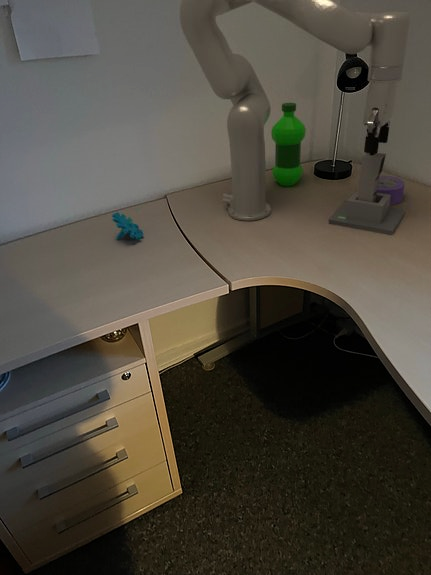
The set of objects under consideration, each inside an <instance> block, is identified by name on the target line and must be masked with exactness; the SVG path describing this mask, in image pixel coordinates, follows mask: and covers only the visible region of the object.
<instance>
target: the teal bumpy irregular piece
mask: <svg viewBox="0 0 431 575" xmlns="http://www.w3.org/2000/svg"><path fill="white" fill-rule="evenodd" d="M111 217H112V222H114V223H116V224H115V226H116V227H117V228H118V229H120V232H119V233H118V234H117V236H116V237H115V239H116V240H117V241H119V240H120V239H121V238H122V237H123V235H124V234H125V235H127V234H128V233H129V237H130V238H132V239H135V240H138V241H139V240H141V239H142V238H144V234H143V230H142V229H140V226H139V225H138V223H134V220H133V219H132V217H131V216H130V215H129V216H127V215H126V214H124V213H122V214H121V213H120V212H117V211H116V212H114V213H113V214H112V215H111Z"/></svg>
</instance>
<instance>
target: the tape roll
mask: <svg viewBox="0 0 431 575" xmlns="http://www.w3.org/2000/svg"><path fill="white" fill-rule="evenodd" d="M404 192H405V181H404V180H403V179H402V178H400V177H397V176H392V175H385V174H384V175H381V174H380V175H379V181H378V189H377V193H383V194H389V195H391V197H390V203H389V206H393V205H398V204H399V203H401V202H402V201H403V196H404Z"/></svg>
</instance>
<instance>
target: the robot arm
mask: <svg viewBox="0 0 431 575" xmlns="http://www.w3.org/2000/svg"><path fill="white" fill-rule="evenodd" d="M251 3H256V4H257V5H259V6H261V7H263V8H264V9H266V10H269V11H271V12H272V13H274V14H276V15H277V16H279V17H281V18H283V19H285V20H287V21H289V22H290V23H292V24H293V25H295V26H296V27H298V28H300V29H301V30H303V31H305V32H306V33H308V34H310V35H312V36H313V37H314V38H316V39H318V40H319V41H322V42H323V43H325V44H327V45H329V46H330V47H333V48H334V49H337V50H338V51H340V52H342V53H344V54H348V55H356V54H358V53H361V52H362V51H364V50H365V49H366V48H367V47H370V56H369V64H368V74H367V82H369V85H368V89H367V94H366V100H365V107H364V113H363V119H362V120H363V121H362V123H363V125H364V126H367V128H366V131H365V132H366V133H365V138H364V140H365V141H364V146H363V147H364V150H363V152H364V153H365V154H366V153H372V154H376V153H379V145H380V144H381V143H383V144H387V143H388V138H389V133H390V124H391V123H390V122H391V119H392V117H393V113H394V108H395V100H396V93H397V87H398V86H397V84H398V83H399V82H401V81H402V76H403V70H404V66H405V65H404V62H405V56H406V50H407V43H408V35H409V30H410V24H411V23H410V22H411V17H410V14H409V13H408V12H406V11H384V12H380V13H378V12H377V13H373V12H364V11H363V12H362V11H355V12H354V11H352V10H351V9H348V8H346V7H345V6H343V5H341V4H339V3H338V2H336V1H334V0H181V2H180V6H179V22H180V26H181V30H182V33H183V35H184V37H185V40H186V41H187V43H188V45H189V47H190V48H191V50H192V52H193V54H194V56H195V58H196V61H197V62H198V64H199V66H200V69H201V70H202V72H203V74H204V76H205V78H206V79H207V81H208V84H209V86H210V87H211V89H212V91H213V93H214V94H215V95H216V96H217V98H220V99H222V100H230V102H231V103H232V107H231V108H230V110H229V112H228V115H227V119H226V127H227V128H226V129H227V135H228V142H229V150H230V166H231V170H230V171H231V188H232V191H231V192H232V194H230V193H226V192H225V193H223V195H222V199H221V200H222V203H224V204H228V205H229V206H228V208H227V212H228V215H229V217H231V218H232V219H235V220H239V221H246V222H247V221H248V222H249V221H258V220H261V219H264V218H267V217H268V216H269V215H270V214H271V212H272V206H271V205H270V204H269V203H268V202H266V200H267V199H266V196H267V195H266V193H267V192H266V145H265V144H266V143H265V142H266V141H265V125H266V123H267V122H268V120H269V118H270V115H271V104H270V100H269V98H268V96H267V93H266V92H265V89H264V88H263V85H262V84H261V81H260V80H259V77H258V75H257V73H256V72H255V68H253V66H252V64H251V63H250V61H249V60H248V59H247V58H246V57H245V56H243V55H240V54H238V53H233V51H232V49H231V48H230V45H229V43H228V41H227V38H226V37H225V34H223V32H222V31H221V29H220V28H219V26H218V23H217V21H216V17H217V16H221V15H224V14H226V13H229V12H231V11H233V10H236V9H238V8H241V7H244V6H246V5H249V4H251ZM397 82H398V83H397ZM376 123H377V124H376ZM375 128H376V129H375Z"/></svg>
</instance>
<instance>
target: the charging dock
mask: <svg viewBox="0 0 431 575" xmlns="http://www.w3.org/2000/svg"><path fill="white" fill-rule="evenodd" d="M358 190H359V189H357V190H356V191H355V192H354V193H353V194H352V196H351V197H349V199H348V200H344V202H342V204H341V205H340V206H339V207H338V208H337V209H336V211H335V212H334V213H333V214H332V215H331V216H330V217H329V219H328V224H329V225H333V226H334V225H335V226H339V227H340V226H341V227H347V228H352V229H355V230H356V229H357V230H361V231H362V230H363V231H367V232H373V233H378V234H383V235H389V236H393V234H394V232H395V231H396V229H397V227H398V226H399V224H400V222H401V220H402V219H403V217H404V216H405V213H406V209H403V208H402V209H401V208H396V207H390V205H389V203H390V197H391V195H389V194H383V193H377V196H376V203H374V202H368V201H361V200H357V199H358Z"/></svg>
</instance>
